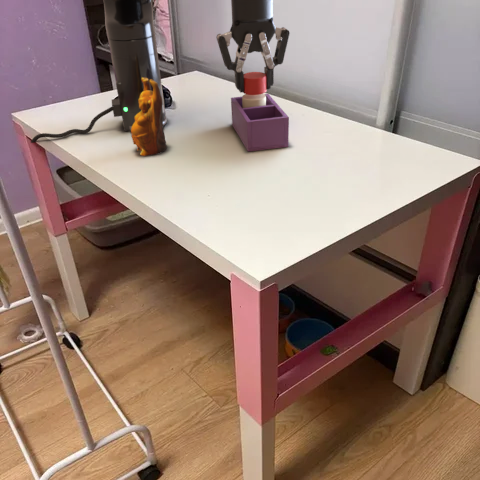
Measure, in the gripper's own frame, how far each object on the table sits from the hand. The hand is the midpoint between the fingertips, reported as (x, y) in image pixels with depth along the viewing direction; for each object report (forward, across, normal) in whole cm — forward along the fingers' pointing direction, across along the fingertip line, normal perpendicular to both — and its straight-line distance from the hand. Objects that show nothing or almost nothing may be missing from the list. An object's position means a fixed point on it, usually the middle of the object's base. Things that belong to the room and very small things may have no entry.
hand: (254, 89), depth 101 cm
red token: (0, 0, 0) cm, 0 cm away
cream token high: (+4, 0, 0) cm, 4 cm away
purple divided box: (+8, 0, +4) cm, 9 cm away
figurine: (+8, +22, +5) cm, 24 cm away
